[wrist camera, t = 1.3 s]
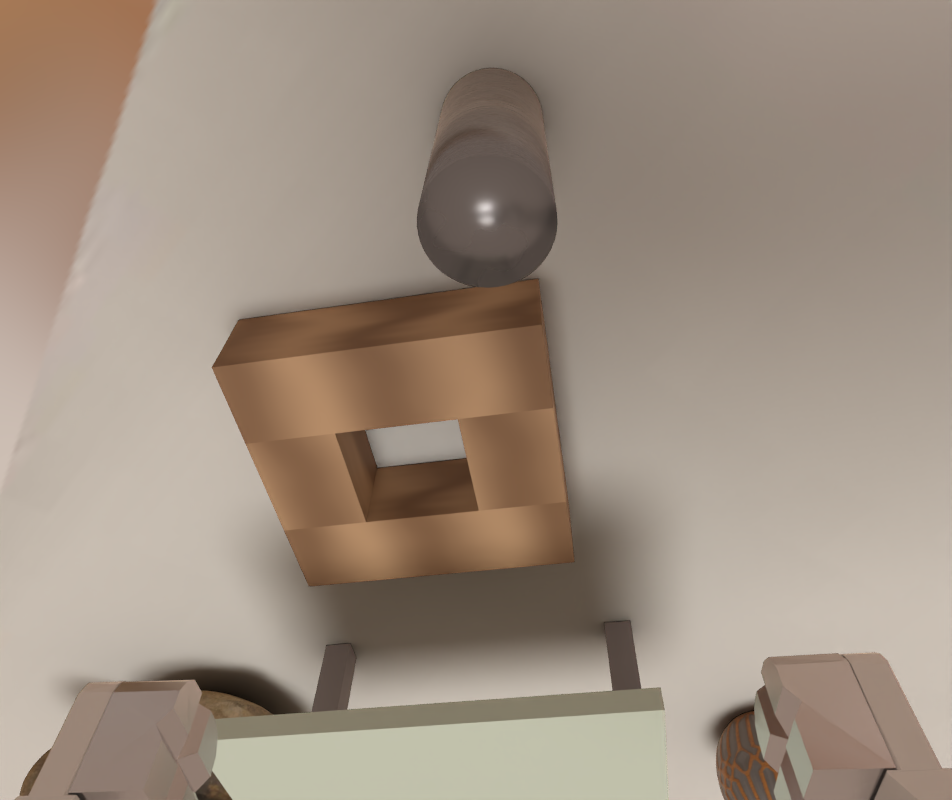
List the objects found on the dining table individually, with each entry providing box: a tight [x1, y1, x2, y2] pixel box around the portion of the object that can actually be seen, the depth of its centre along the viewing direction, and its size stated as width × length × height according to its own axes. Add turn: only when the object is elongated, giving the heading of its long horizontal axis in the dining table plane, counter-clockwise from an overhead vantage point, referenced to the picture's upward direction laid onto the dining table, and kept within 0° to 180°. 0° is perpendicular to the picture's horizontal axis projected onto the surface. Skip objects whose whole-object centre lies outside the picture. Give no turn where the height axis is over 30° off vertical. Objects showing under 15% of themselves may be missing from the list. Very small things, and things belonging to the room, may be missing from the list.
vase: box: [716, 711, 778, 800], centre depth 50 cm, size 7×7×9 cm
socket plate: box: [212, 279, 574, 586], centre depth 37 cm, size 14×14×4 cm
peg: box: [417, 68, 557, 288], centre depth 26 cm, size 4×4×10 cm
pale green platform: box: [212, 621, 669, 800], centre depth 41 cm, size 20×13×13 cm, turn 100°
